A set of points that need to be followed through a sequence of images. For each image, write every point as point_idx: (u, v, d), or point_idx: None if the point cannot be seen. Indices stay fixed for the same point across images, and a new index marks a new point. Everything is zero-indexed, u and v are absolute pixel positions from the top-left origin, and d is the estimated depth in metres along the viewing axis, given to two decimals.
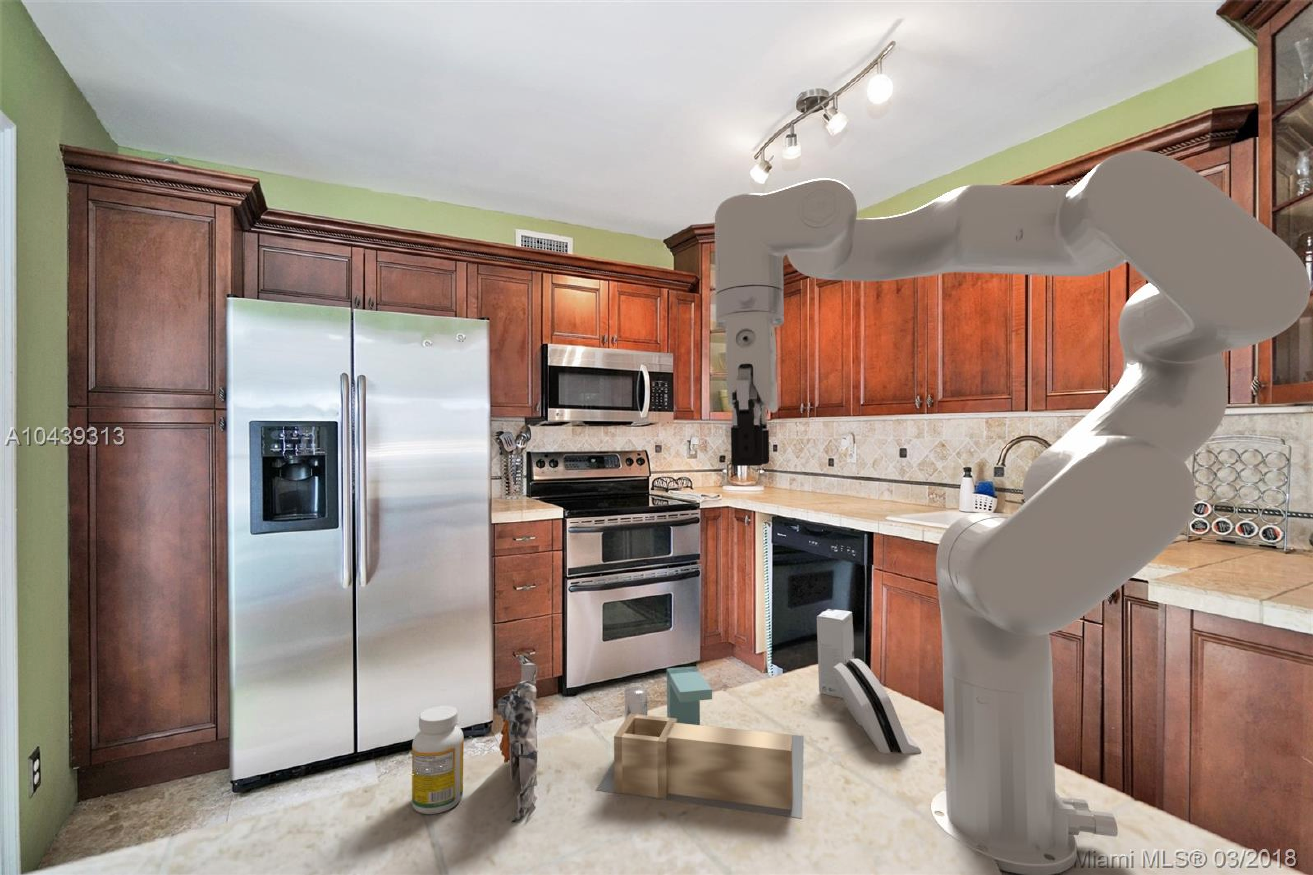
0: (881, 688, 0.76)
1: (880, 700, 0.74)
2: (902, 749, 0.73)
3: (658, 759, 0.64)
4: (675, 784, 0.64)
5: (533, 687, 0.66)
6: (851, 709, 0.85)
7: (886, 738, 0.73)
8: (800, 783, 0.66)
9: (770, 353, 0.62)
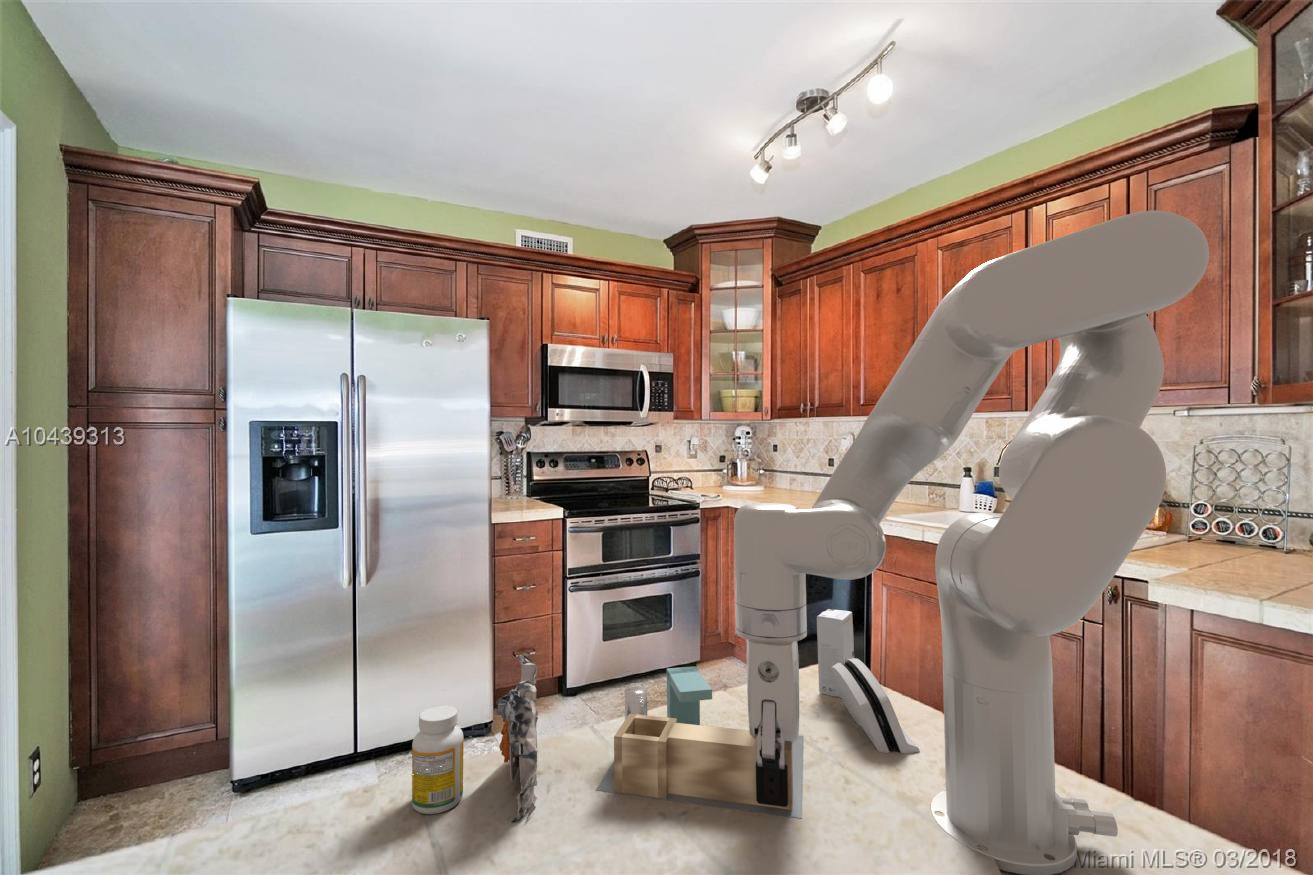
0: (880, 688, 0.76)
1: (878, 699, 0.74)
2: (901, 748, 0.73)
3: (658, 759, 0.64)
4: (675, 784, 0.64)
5: (533, 687, 0.66)
6: (849, 709, 0.85)
7: (885, 737, 0.73)
8: (800, 783, 0.66)
9: (794, 688, 0.59)
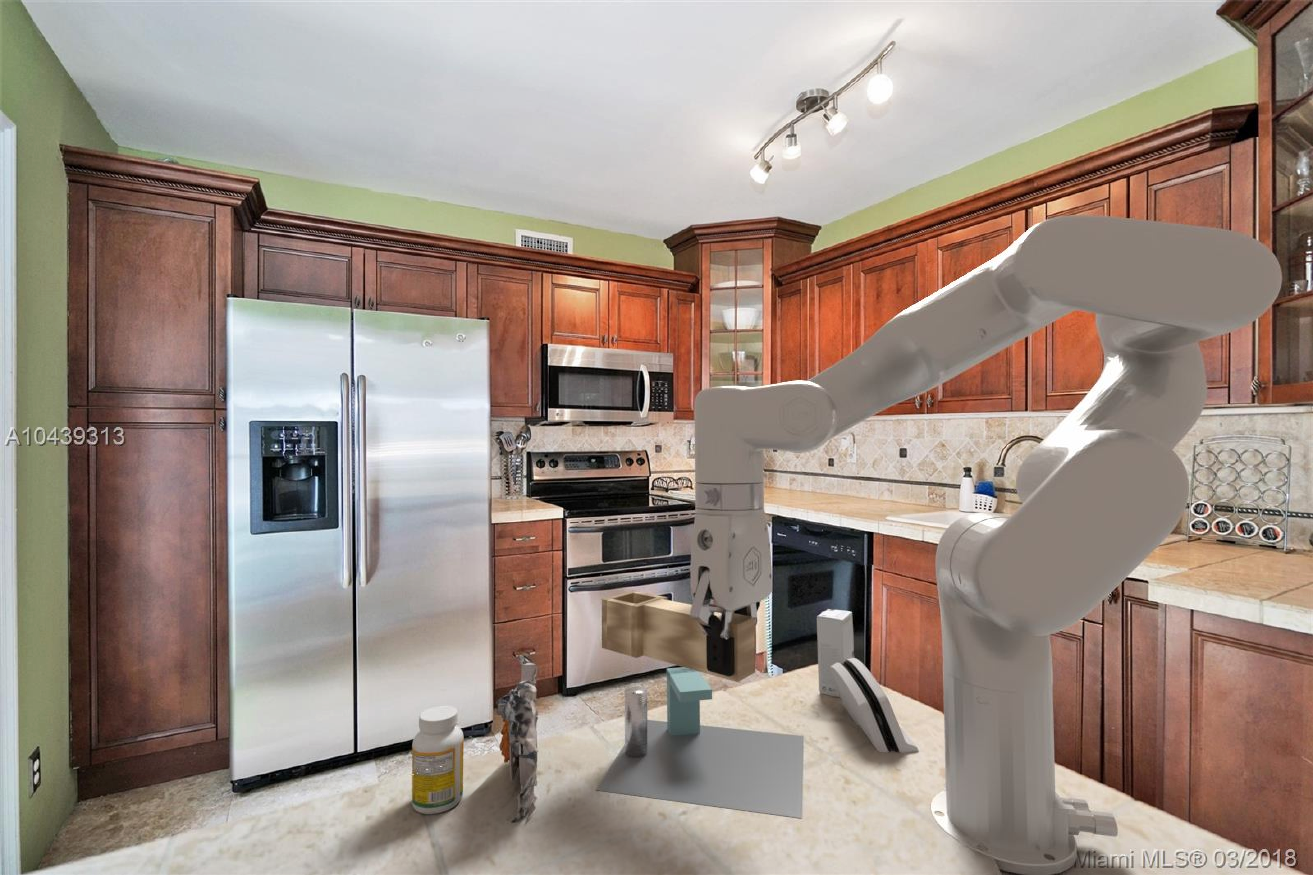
0: (879, 687, 0.76)
1: (877, 699, 0.75)
2: (900, 748, 0.73)
3: (631, 622, 0.71)
4: (648, 648, 0.70)
5: (533, 687, 0.66)
6: (848, 708, 0.85)
7: (884, 737, 0.74)
8: (800, 783, 0.66)
9: (727, 557, 0.61)
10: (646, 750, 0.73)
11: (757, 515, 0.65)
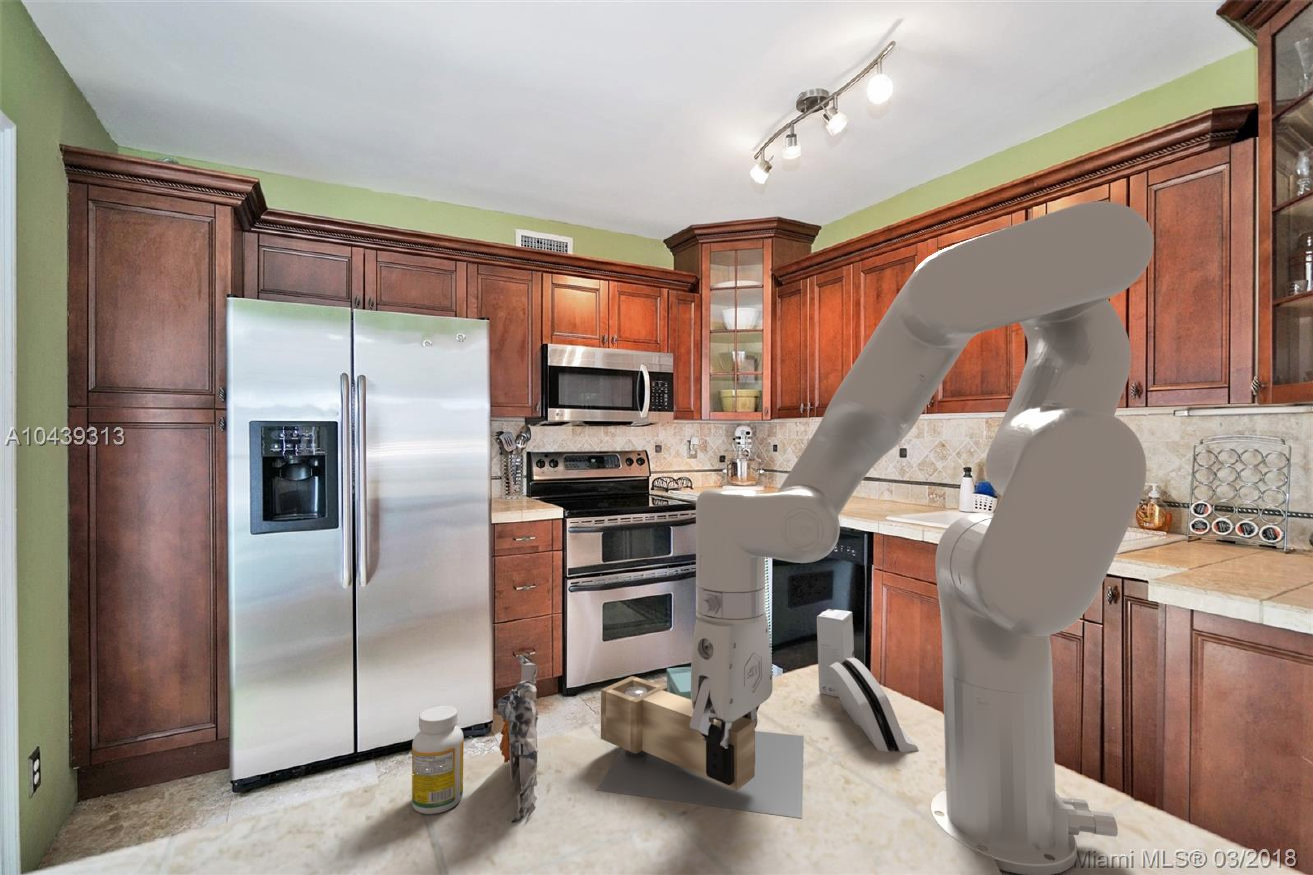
0: (878, 687, 0.76)
1: (877, 698, 0.75)
2: (900, 747, 0.73)
3: (631, 717, 0.70)
4: (647, 743, 0.70)
5: (533, 687, 0.66)
6: (847, 708, 0.85)
7: (884, 736, 0.74)
8: (800, 783, 0.66)
9: (728, 669, 0.60)
10: None
11: None
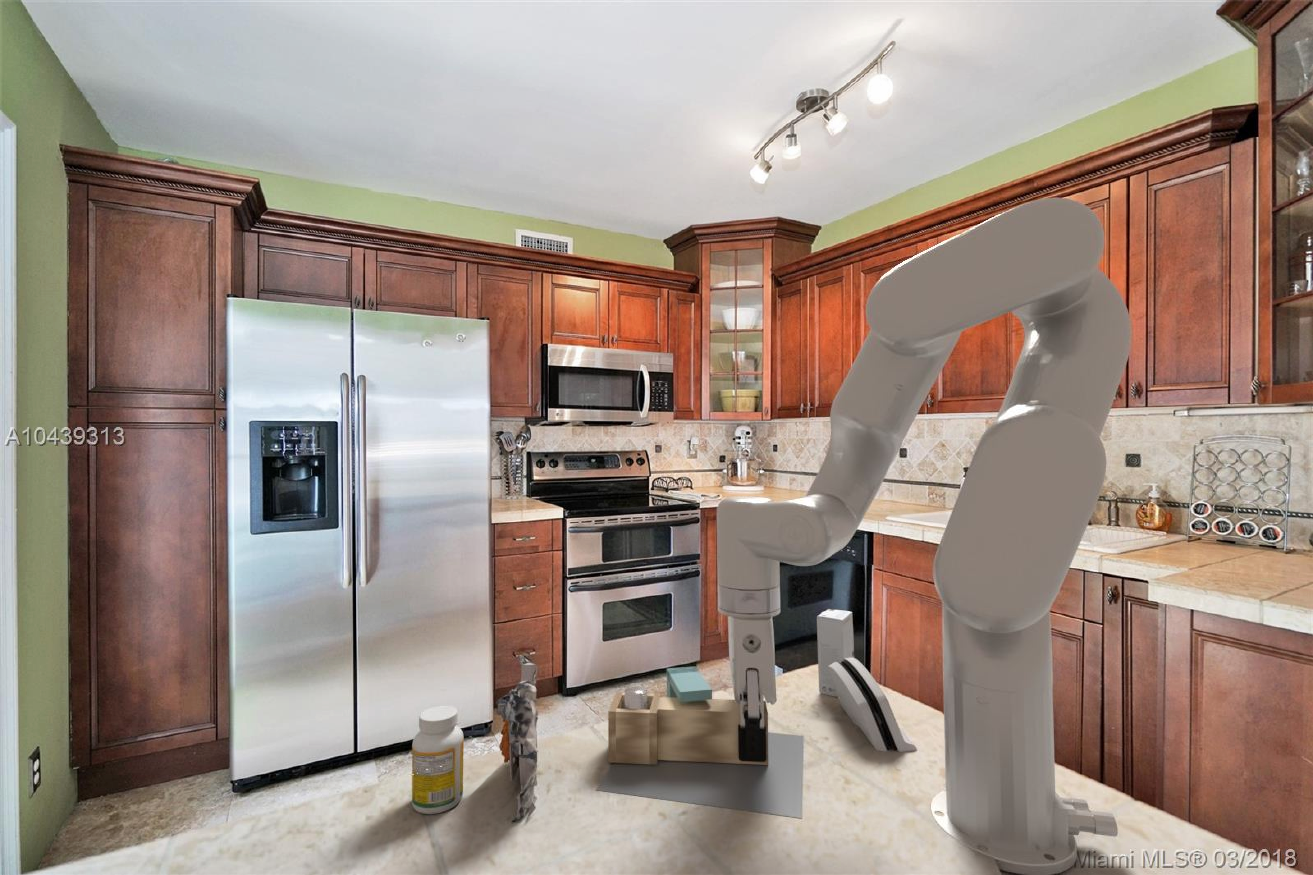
0: (877, 687, 0.76)
1: (876, 698, 0.75)
2: (898, 747, 0.73)
3: (650, 729, 0.71)
4: (664, 751, 0.71)
5: (533, 687, 0.66)
6: (846, 708, 0.85)
7: (882, 736, 0.74)
8: (800, 783, 0.66)
9: (773, 657, 0.68)
10: None
11: None
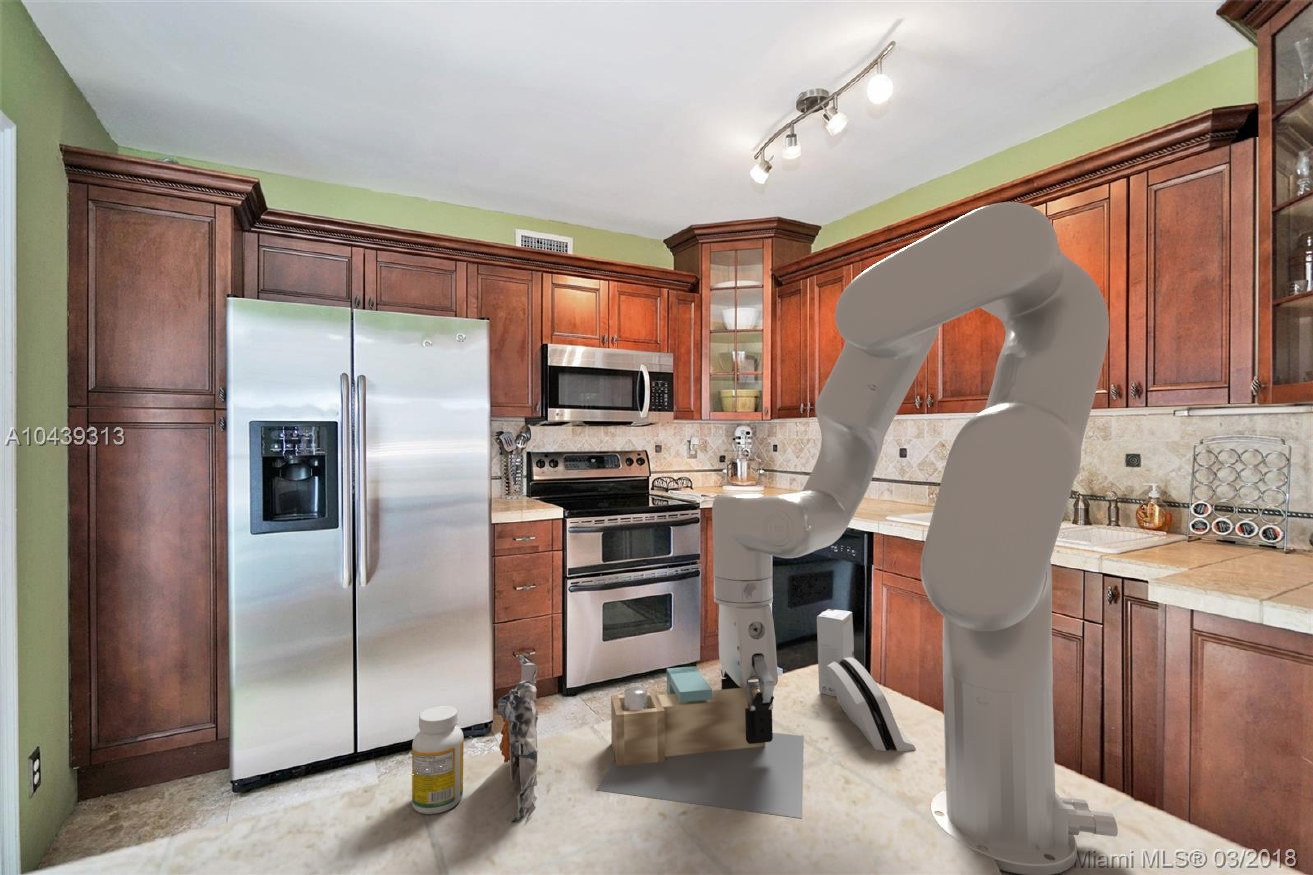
0: (876, 686, 0.76)
1: (875, 698, 0.75)
2: (897, 746, 0.73)
3: (658, 727, 0.71)
4: (669, 747, 0.73)
5: (533, 687, 0.66)
6: (845, 707, 0.85)
7: (881, 736, 0.74)
8: (800, 783, 0.66)
9: None
10: None
11: None
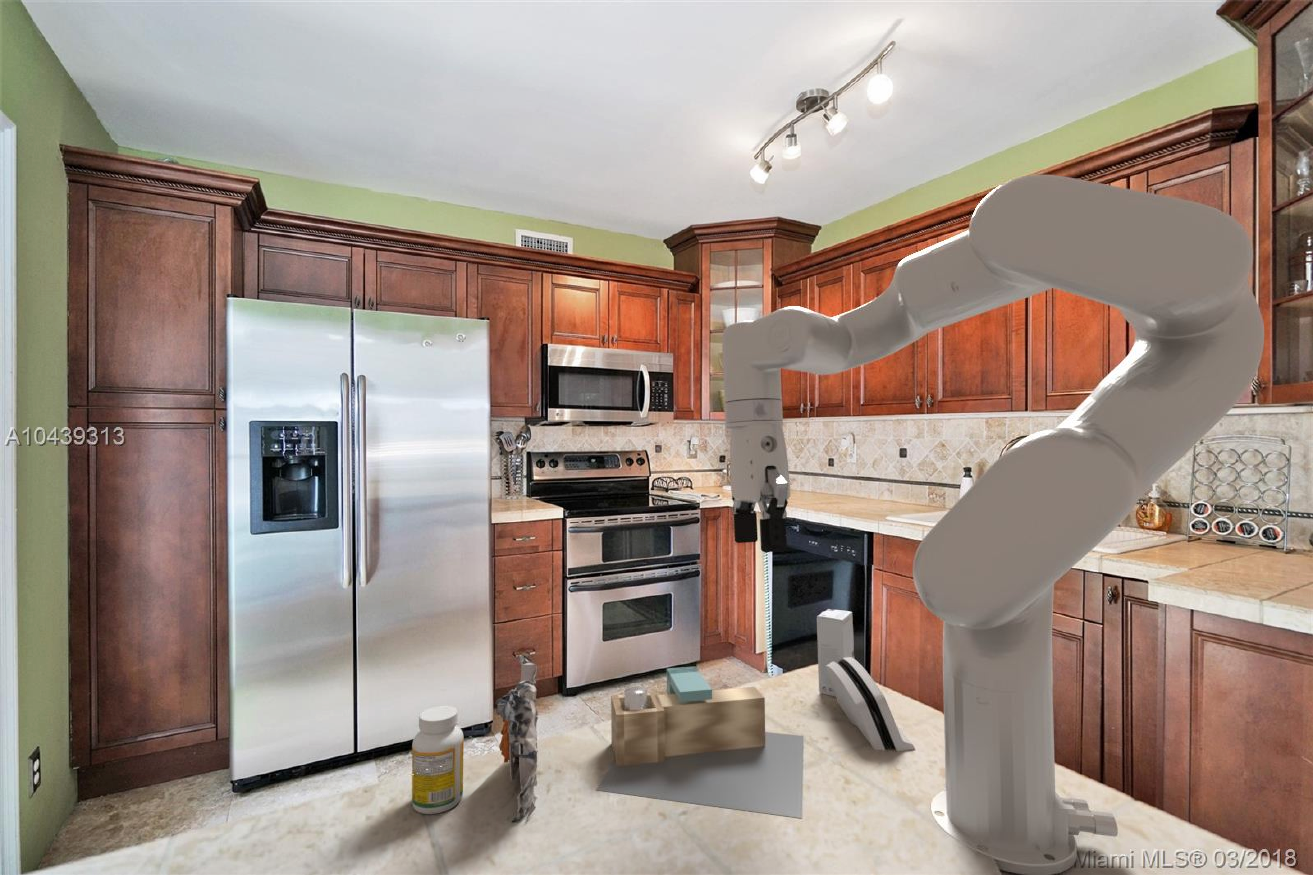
0: (875, 686, 0.76)
1: (874, 698, 0.75)
2: (896, 746, 0.74)
3: (658, 727, 0.71)
4: (669, 747, 0.73)
5: (533, 687, 0.66)
6: (844, 707, 0.86)
7: (880, 735, 0.74)
8: (800, 783, 0.66)
9: (786, 456, 0.75)
10: None
11: None
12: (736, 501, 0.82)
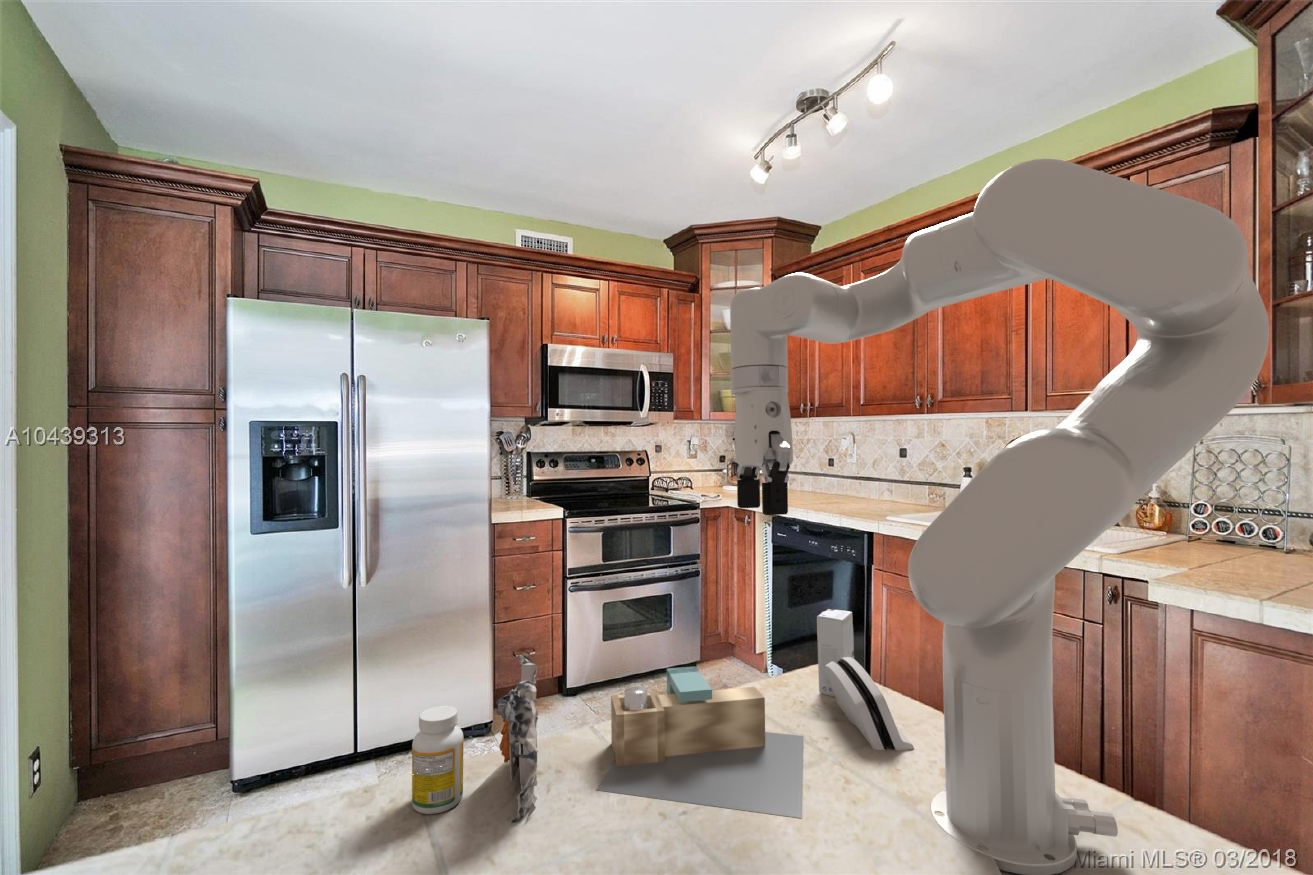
0: (874, 686, 0.77)
1: (873, 697, 0.75)
2: (895, 746, 0.74)
3: (658, 727, 0.71)
4: (669, 747, 0.73)
5: (533, 687, 0.66)
6: (843, 707, 0.86)
7: (880, 735, 0.74)
8: (800, 783, 0.66)
9: (790, 422, 0.76)
10: None
11: None
12: (740, 467, 0.84)
